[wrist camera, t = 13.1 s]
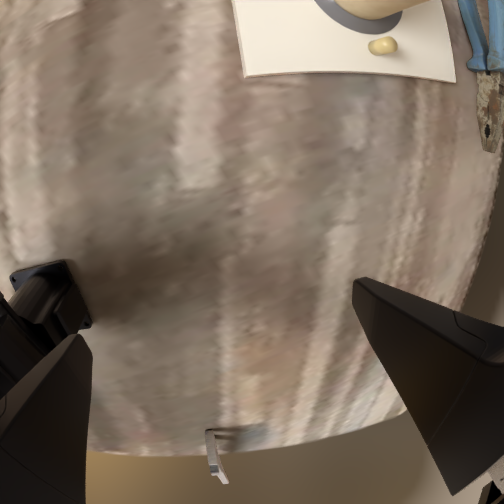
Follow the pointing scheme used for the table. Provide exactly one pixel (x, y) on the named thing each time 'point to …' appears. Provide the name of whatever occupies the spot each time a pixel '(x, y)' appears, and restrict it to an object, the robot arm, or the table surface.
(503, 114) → the pliers
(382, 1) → the candle
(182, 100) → the table surface
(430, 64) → the stud tile
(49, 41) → the table surface
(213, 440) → the caliper
